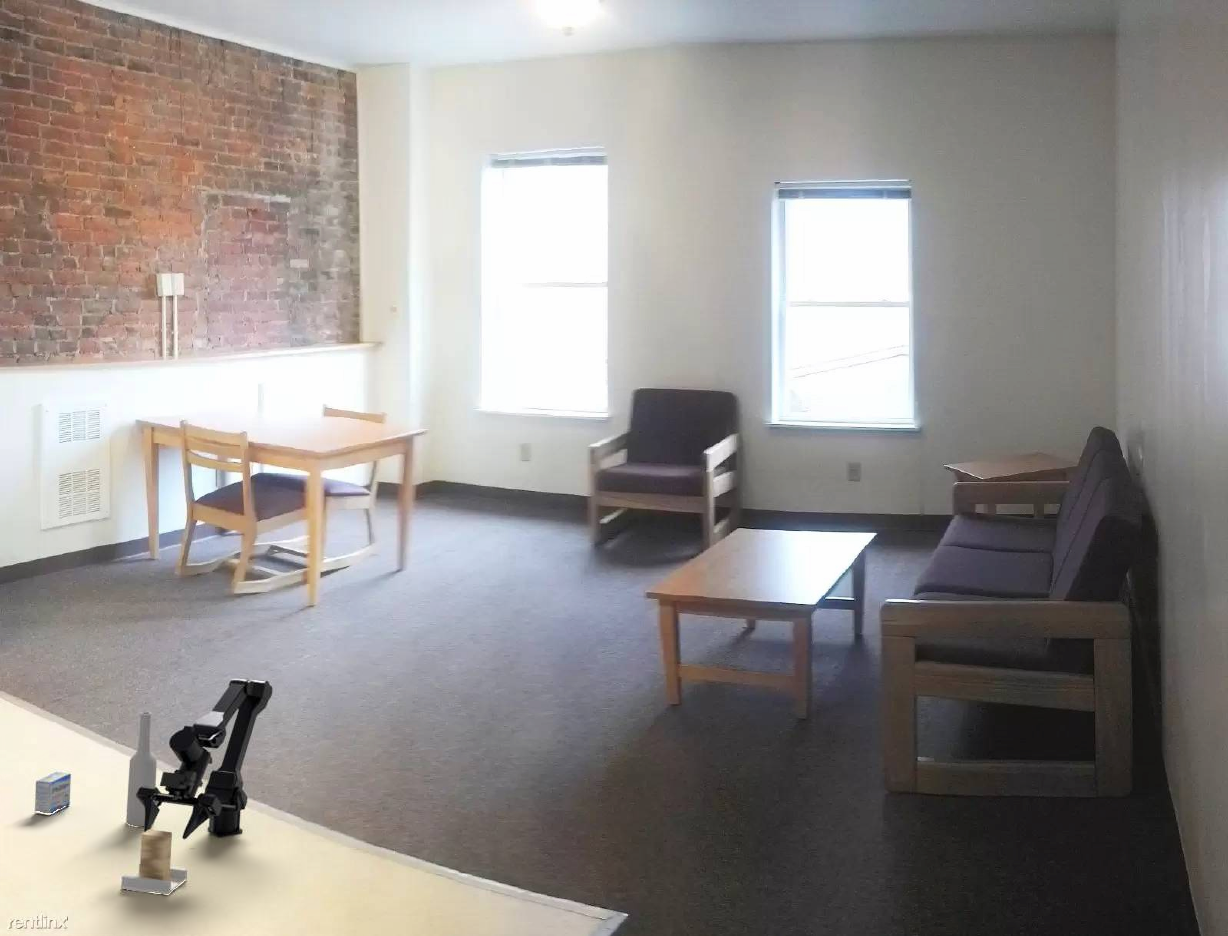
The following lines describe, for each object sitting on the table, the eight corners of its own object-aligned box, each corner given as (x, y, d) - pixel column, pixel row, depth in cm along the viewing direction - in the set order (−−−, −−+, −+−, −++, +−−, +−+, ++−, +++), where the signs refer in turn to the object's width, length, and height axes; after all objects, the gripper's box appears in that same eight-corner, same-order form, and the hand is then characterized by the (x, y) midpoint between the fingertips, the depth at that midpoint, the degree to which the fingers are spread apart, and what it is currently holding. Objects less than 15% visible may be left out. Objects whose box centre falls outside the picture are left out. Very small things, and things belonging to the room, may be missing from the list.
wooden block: (139, 882, 262) (141, 834, 261) (146, 877, 265) (148, 829, 264) (162, 886, 261) (165, 837, 260) (169, 880, 264) (171, 832, 263)
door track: (120, 889, 260) (121, 877, 259) (141, 874, 268) (142, 862, 268) (167, 896, 258) (168, 883, 258) (186, 880, 266) (187, 868, 266)
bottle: (159, 819, 300) (164, 710, 299) (146, 828, 294) (151, 717, 292) (134, 816, 301) (139, 708, 299) (120, 825, 295) (126, 715, 293)
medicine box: (49, 816, 297) (51, 782, 296) (33, 814, 298) (35, 780, 297) (70, 806, 305) (71, 773, 304) (54, 803, 305) (56, 771, 305)
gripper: (141, 751, 271) (112, 815, 261) (218, 760, 268) (191, 826, 258) (158, 773, 279) (130, 836, 269) (232, 783, 277) (207, 847, 267)
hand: (164, 836), depth 266 cm, fingers open, 9 cm apart
